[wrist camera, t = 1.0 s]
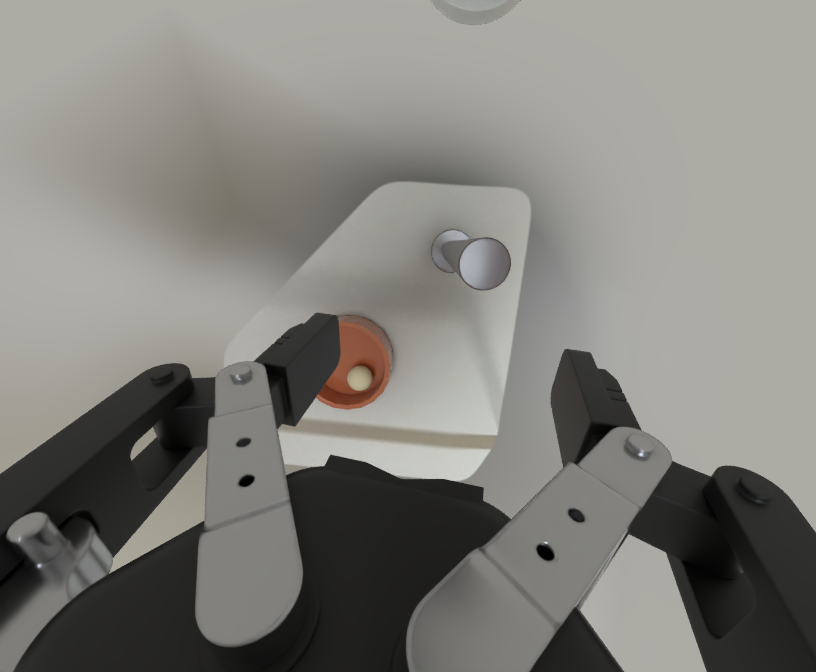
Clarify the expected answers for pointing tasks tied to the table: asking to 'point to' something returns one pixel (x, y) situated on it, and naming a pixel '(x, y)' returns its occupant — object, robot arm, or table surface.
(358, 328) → the bowl
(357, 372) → the ball
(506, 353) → the table surface
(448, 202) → the table surface
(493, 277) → the pestle
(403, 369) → the table surface
